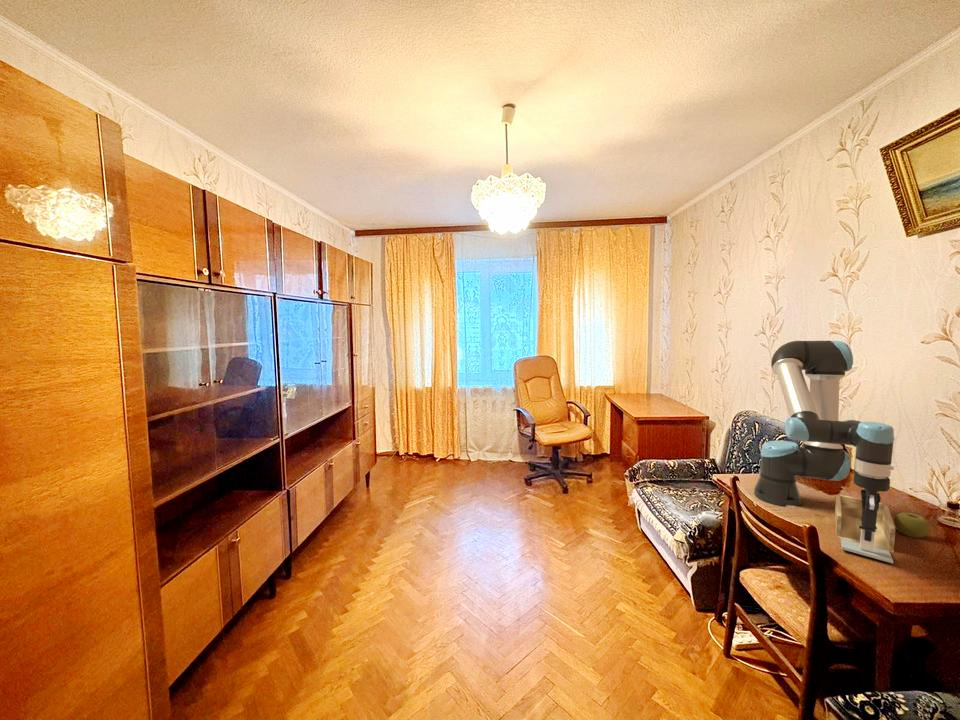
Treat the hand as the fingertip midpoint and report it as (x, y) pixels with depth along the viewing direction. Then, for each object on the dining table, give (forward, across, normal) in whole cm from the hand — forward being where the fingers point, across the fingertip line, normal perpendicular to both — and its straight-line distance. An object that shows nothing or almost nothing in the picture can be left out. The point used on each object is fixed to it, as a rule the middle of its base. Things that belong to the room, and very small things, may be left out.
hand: (866, 549), depth 116 cm
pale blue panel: (+2, +6, 0) cm, 7 cm away
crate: (+3, +18, 0) cm, 18 cm away
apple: (+3, +26, -12) cm, 29 cm away
